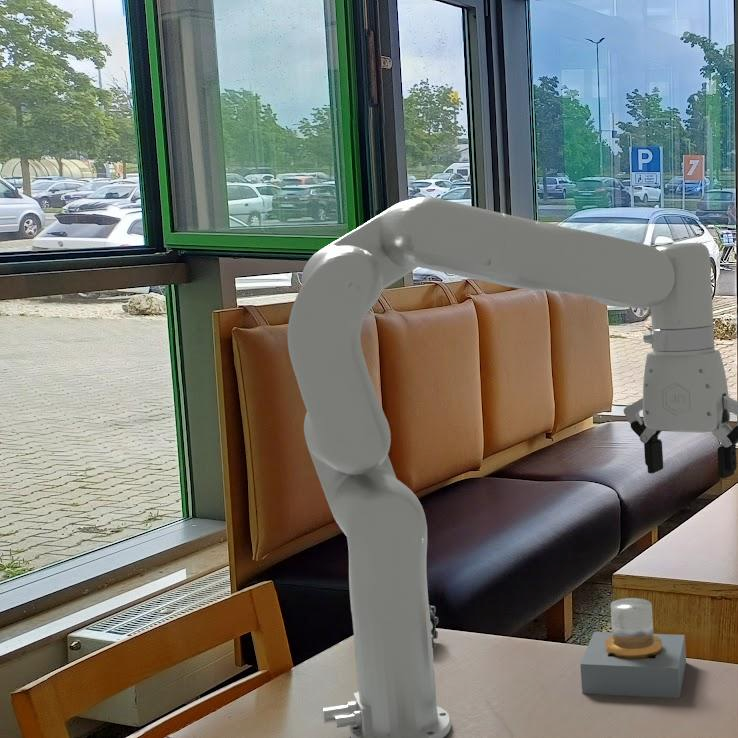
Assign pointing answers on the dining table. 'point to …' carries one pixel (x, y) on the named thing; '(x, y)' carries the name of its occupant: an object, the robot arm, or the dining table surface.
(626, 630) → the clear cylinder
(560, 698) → the dining table surface
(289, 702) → the dining table surface
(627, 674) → the housing
